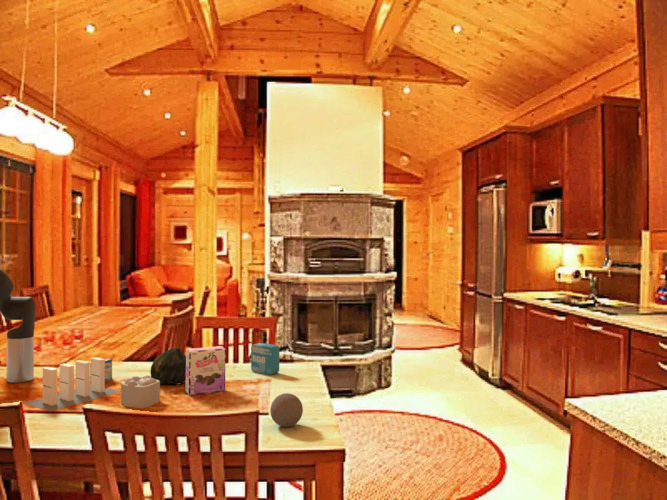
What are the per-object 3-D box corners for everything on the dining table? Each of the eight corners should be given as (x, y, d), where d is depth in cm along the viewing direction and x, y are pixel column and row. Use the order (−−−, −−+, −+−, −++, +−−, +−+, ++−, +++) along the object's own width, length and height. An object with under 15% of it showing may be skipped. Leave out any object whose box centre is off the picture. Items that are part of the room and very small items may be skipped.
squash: (141, 368, 210) (155, 343, 204) (174, 363, 221) (189, 340, 215) (153, 397, 203) (168, 373, 196) (187, 391, 214) (202, 367, 207)
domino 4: (100, 392, 193) (100, 360, 193) (90, 390, 196) (90, 358, 196) (104, 391, 194) (104, 359, 194) (95, 389, 197) (95, 357, 197)
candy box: (188, 396, 192) (188, 351, 192) (185, 392, 197) (185, 348, 197) (225, 391, 198) (226, 348, 198) (221, 387, 204) (221, 345, 203)
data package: (250, 371, 228) (251, 344, 228) (257, 369, 232) (257, 342, 232) (273, 375, 223) (273, 347, 222) (279, 373, 226) (279, 345, 226)
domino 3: (84, 396, 188) (84, 363, 188) (75, 394, 191) (75, 361, 190) (89, 395, 189) (89, 362, 189) (80, 392, 192) (80, 360, 192)
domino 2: (68, 401, 183) (68, 366, 182) (59, 398, 186) (59, 364, 185) (73, 399, 184) (73, 365, 184) (64, 397, 187) (64, 363, 187)
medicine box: (100, 385, 204) (100, 363, 204) (89, 384, 205) (89, 362, 205) (112, 380, 212) (112, 358, 212) (102, 379, 213) (102, 358, 213)
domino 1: (51, 405, 178) (51, 370, 177) (42, 402, 181) (42, 367, 180) (57, 404, 179) (57, 369, 179) (47, 401, 182) (47, 366, 182)
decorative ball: (264, 429, 160) (264, 396, 160) (279, 418, 169) (279, 387, 169) (294, 433, 156) (294, 400, 156) (307, 423, 166) (308, 391, 165)
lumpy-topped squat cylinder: (143, 409, 177) (144, 383, 177) (113, 404, 181) (113, 379, 181) (163, 400, 187) (163, 376, 187) (134, 396, 191) (134, 372, 191)
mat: (23, 404, 180) (23, 402, 180) (95, 386, 203) (95, 384, 203) (49, 412, 172) (50, 411, 172) (122, 392, 195) (121, 391, 195)
